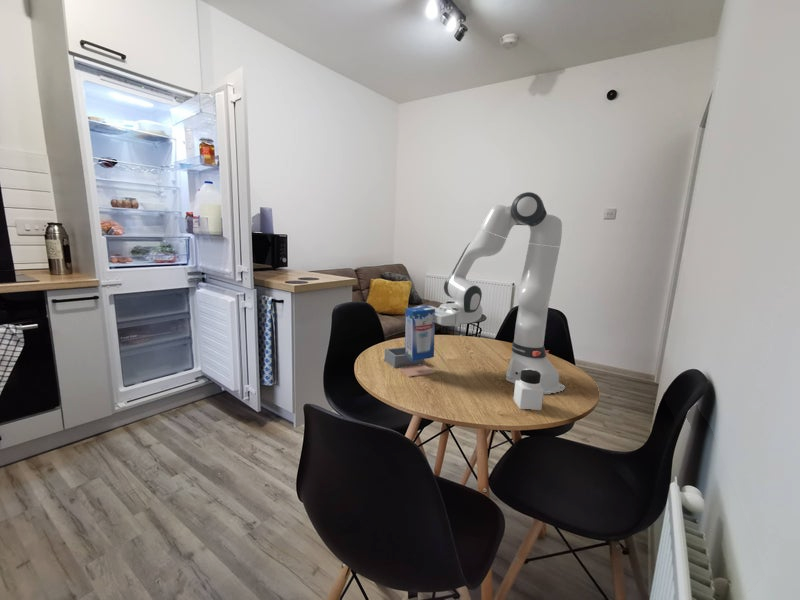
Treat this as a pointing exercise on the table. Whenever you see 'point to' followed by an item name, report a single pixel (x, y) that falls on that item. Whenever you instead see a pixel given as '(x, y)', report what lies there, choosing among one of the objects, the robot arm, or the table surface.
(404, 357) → the carton holder
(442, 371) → the table surface
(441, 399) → the table surface
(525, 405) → the medicine bottle
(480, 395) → the table surface
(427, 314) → the milk carton
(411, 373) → the terracotta tile
